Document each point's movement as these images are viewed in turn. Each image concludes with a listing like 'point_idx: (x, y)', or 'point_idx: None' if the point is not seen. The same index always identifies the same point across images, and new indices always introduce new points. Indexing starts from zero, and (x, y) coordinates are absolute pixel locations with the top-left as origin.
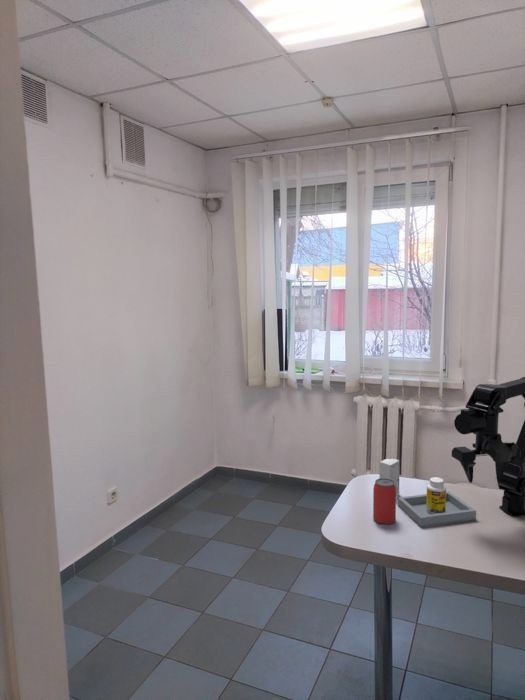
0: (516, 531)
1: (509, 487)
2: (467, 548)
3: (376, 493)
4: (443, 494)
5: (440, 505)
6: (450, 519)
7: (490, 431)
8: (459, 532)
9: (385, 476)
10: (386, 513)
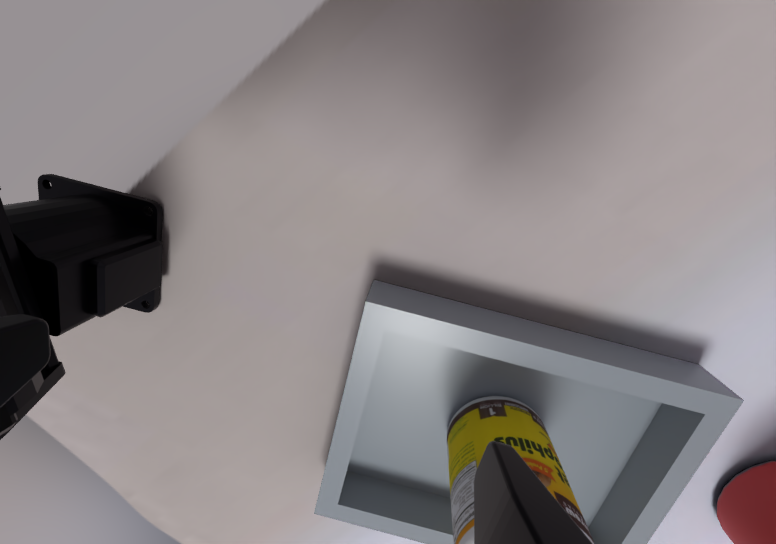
0: (272, 76)
1: (2, 287)
2: (711, 69)
3: None
4: None
5: (527, 434)
6: (532, 330)
7: None
8: (570, 230)
9: None
10: None
